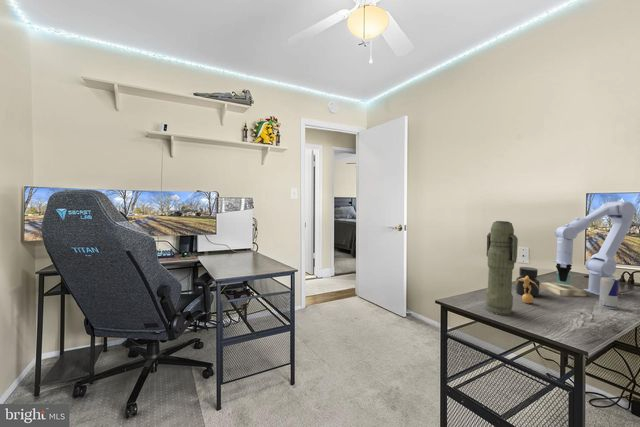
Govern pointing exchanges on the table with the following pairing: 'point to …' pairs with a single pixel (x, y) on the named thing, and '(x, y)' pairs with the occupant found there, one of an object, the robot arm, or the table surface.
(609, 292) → the energy drink
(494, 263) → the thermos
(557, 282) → the teal cube
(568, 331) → the table surface
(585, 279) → the table surface
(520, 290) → the ink bottle
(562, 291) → the birch block
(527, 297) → the figurine
